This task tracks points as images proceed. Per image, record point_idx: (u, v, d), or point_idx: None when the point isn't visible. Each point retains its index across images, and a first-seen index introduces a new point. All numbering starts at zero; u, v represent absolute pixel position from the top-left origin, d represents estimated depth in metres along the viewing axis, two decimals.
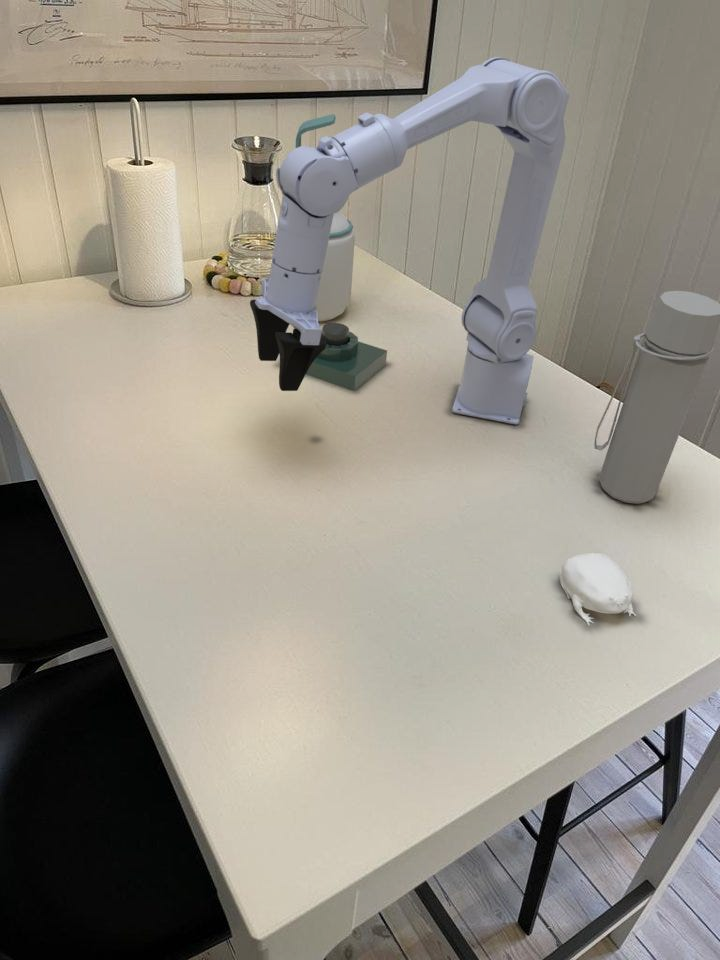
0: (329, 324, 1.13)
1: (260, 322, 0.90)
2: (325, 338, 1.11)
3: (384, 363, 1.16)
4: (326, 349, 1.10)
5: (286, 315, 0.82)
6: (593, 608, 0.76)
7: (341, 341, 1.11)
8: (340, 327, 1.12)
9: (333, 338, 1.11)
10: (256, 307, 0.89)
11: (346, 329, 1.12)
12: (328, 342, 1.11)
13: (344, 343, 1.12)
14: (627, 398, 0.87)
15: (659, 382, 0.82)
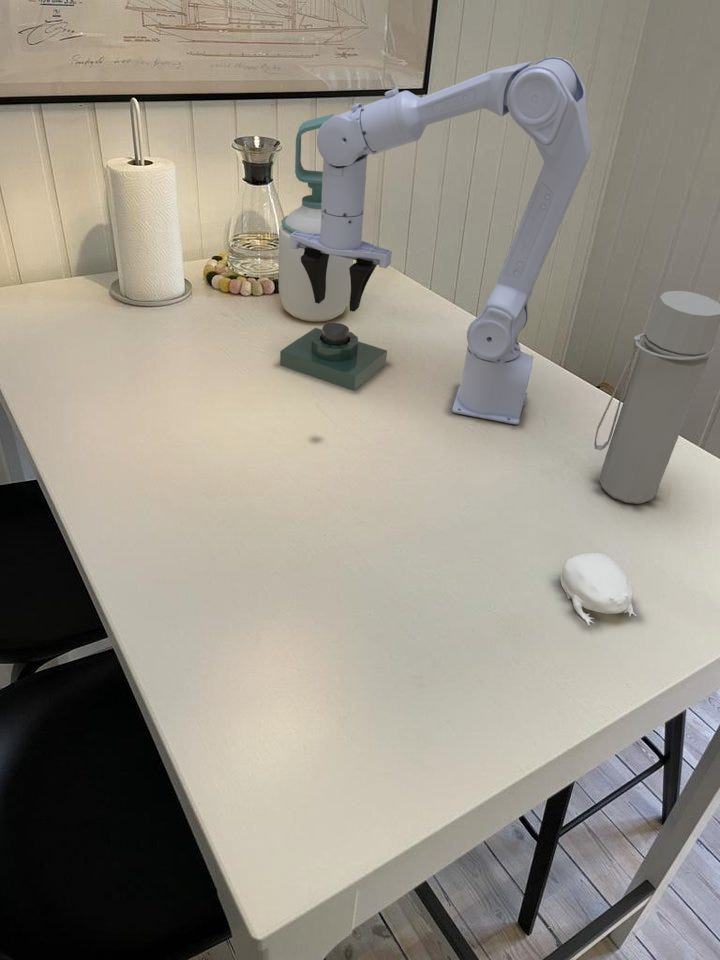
0: (329, 324, 1.13)
1: None
2: (325, 338, 1.11)
3: (384, 363, 1.16)
4: (326, 349, 1.10)
5: None
6: (593, 608, 0.76)
7: (341, 341, 1.11)
8: (340, 327, 1.12)
9: (333, 338, 1.11)
10: None
11: (346, 329, 1.12)
12: (328, 342, 1.11)
13: (344, 343, 1.12)
14: (627, 398, 0.87)
15: (659, 382, 0.82)
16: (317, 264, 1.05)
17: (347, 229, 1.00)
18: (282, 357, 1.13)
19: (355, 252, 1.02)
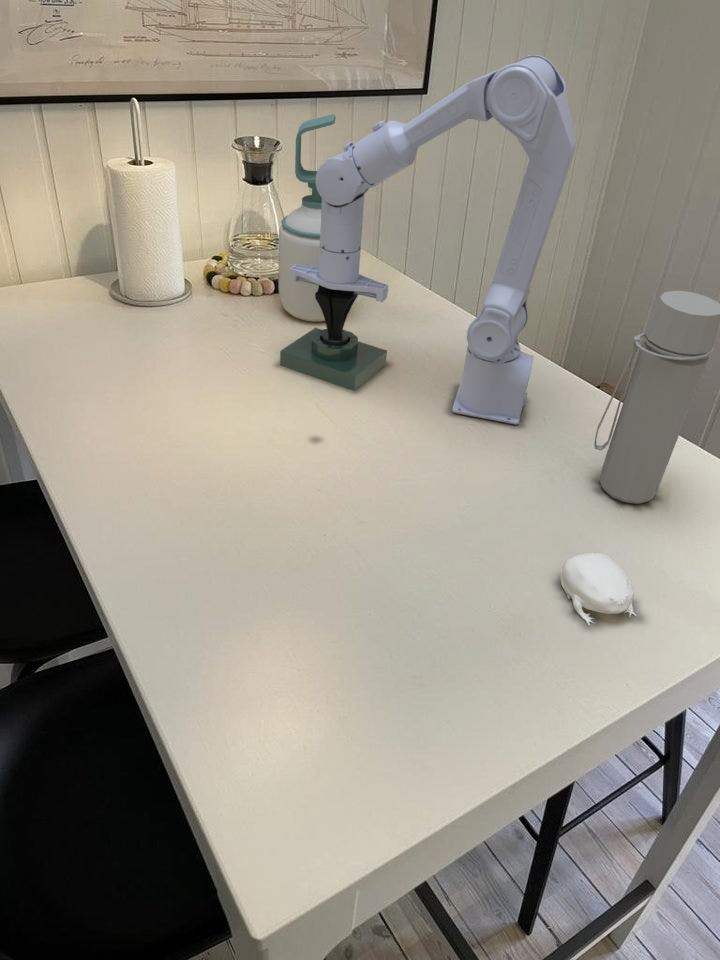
0: None
1: None
2: None
3: (384, 363, 1.16)
4: (326, 349, 1.10)
5: None
6: (593, 608, 0.76)
7: None
8: None
9: (333, 344, 1.11)
10: None
11: (346, 336, 1.12)
12: None
13: None
14: (627, 398, 0.87)
15: (659, 382, 0.82)
16: (331, 300, 1.08)
17: (344, 265, 1.03)
18: (282, 357, 1.13)
19: (353, 286, 1.05)
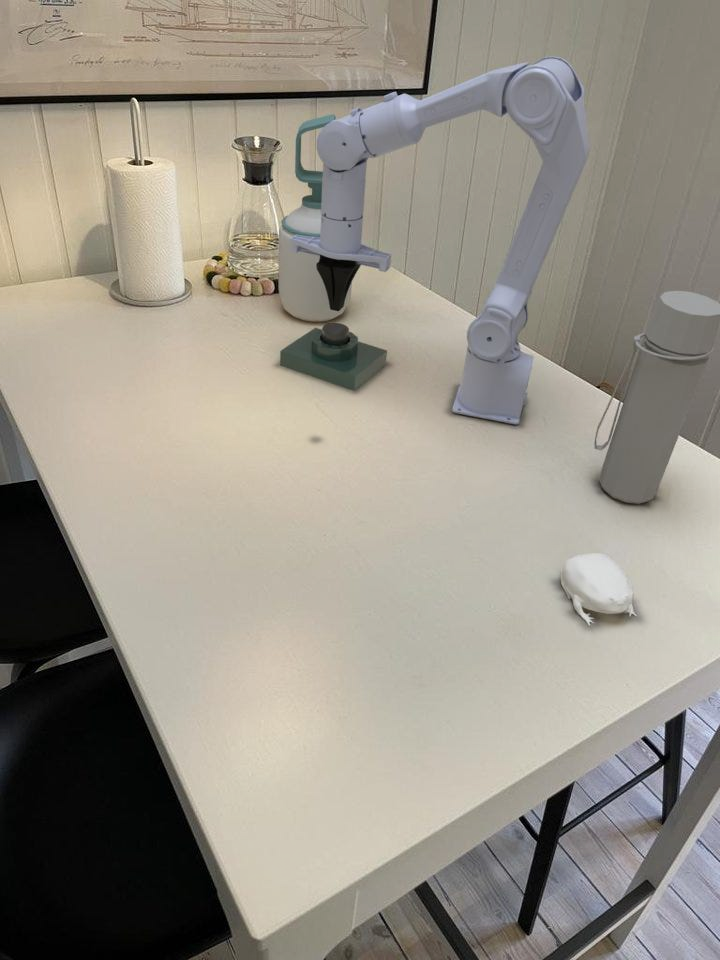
0: (329, 324, 1.13)
1: None
2: (325, 338, 1.11)
3: (384, 363, 1.16)
4: (326, 349, 1.10)
5: None
6: (593, 608, 0.76)
7: (341, 341, 1.11)
8: (340, 327, 1.12)
9: (333, 338, 1.11)
10: None
11: (346, 329, 1.12)
12: (328, 342, 1.11)
13: (344, 343, 1.12)
14: (627, 398, 0.87)
15: (659, 382, 0.82)
16: (333, 271, 1.05)
17: (346, 233, 1.01)
18: (282, 357, 1.13)
19: (355, 256, 1.02)
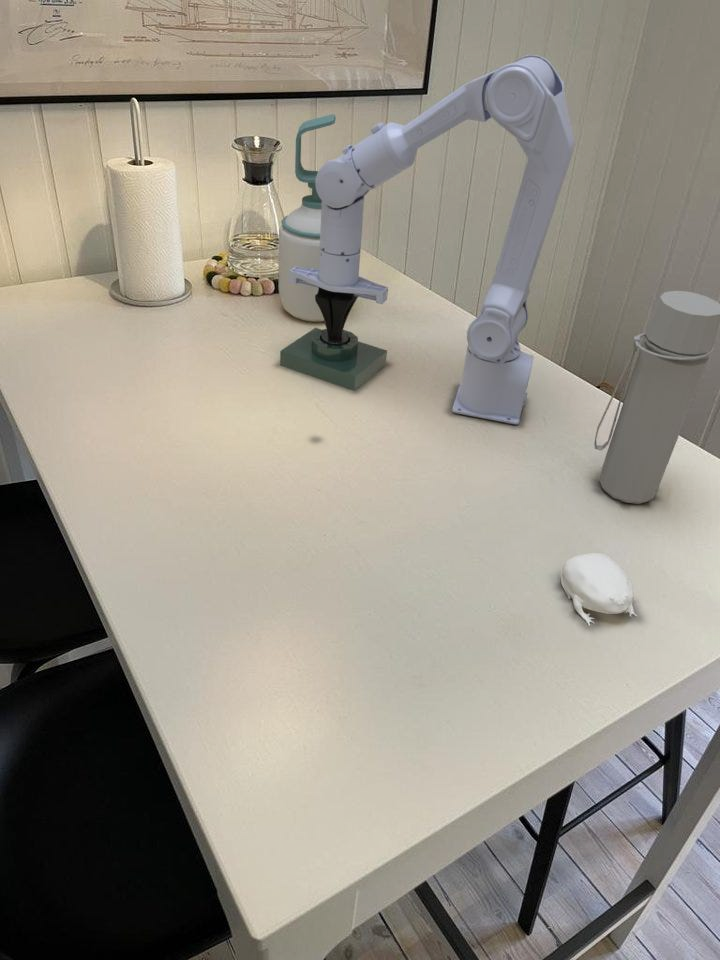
0: None
1: None
2: None
3: (384, 363, 1.16)
4: (326, 349, 1.10)
5: None
6: (593, 608, 0.76)
7: None
8: None
9: None
10: None
11: (345, 338, 1.13)
12: None
13: None
14: (627, 398, 0.87)
15: (659, 382, 0.82)
16: (331, 303, 1.08)
17: (344, 267, 1.03)
18: (282, 357, 1.13)
19: (352, 289, 1.05)
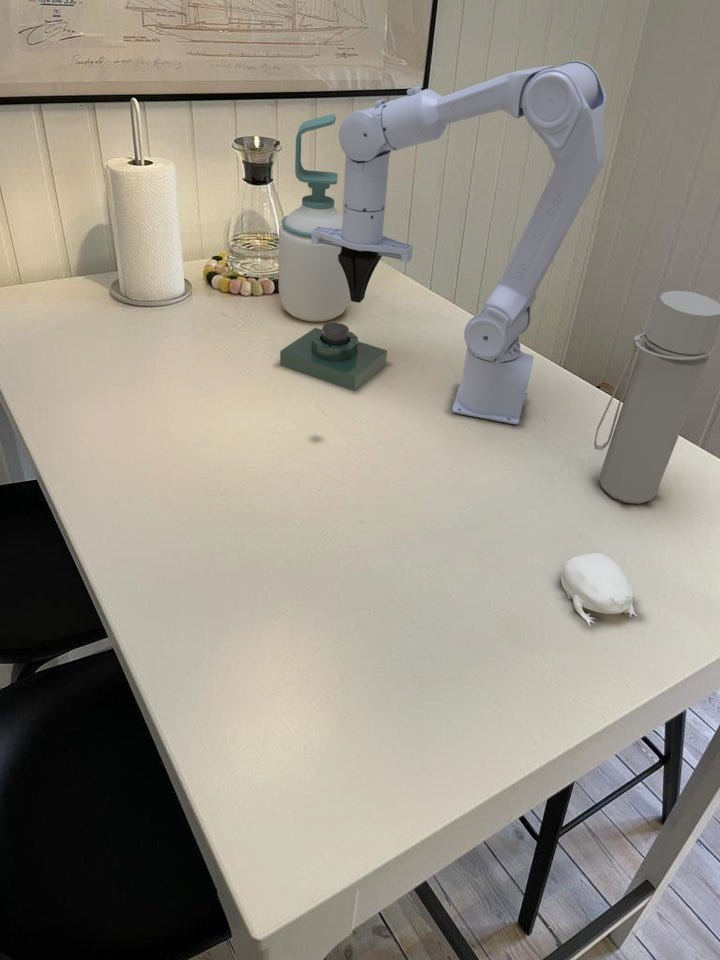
0: (329, 324, 1.13)
1: None
2: (325, 338, 1.11)
3: (384, 363, 1.16)
4: (326, 349, 1.10)
5: (342, 229, 1.07)
6: (593, 608, 0.76)
7: (341, 341, 1.11)
8: (340, 327, 1.12)
9: (333, 338, 1.11)
10: None
11: (346, 329, 1.12)
12: (328, 342, 1.11)
13: (344, 343, 1.12)
14: (627, 398, 0.87)
15: (659, 382, 0.82)
16: (354, 262, 1.06)
17: (369, 224, 1.01)
18: (282, 357, 1.13)
19: (377, 247, 1.03)
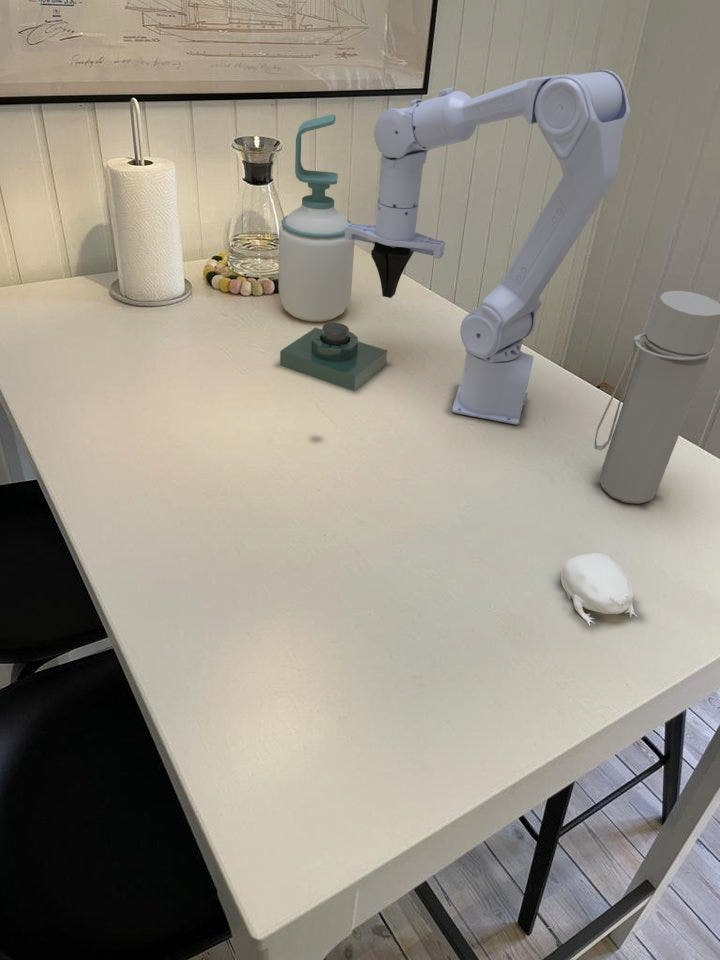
0: (329, 324, 1.13)
1: None
2: (325, 338, 1.11)
3: (384, 363, 1.16)
4: (326, 349, 1.10)
5: (375, 225, 1.09)
6: (593, 608, 0.76)
7: (341, 341, 1.11)
8: (340, 327, 1.12)
9: (333, 338, 1.11)
10: None
11: (346, 329, 1.12)
12: (328, 342, 1.11)
13: (344, 343, 1.12)
14: (627, 398, 0.87)
15: (659, 382, 0.82)
16: (387, 258, 1.08)
17: (403, 220, 1.03)
18: (282, 357, 1.13)
19: (410, 243, 1.05)
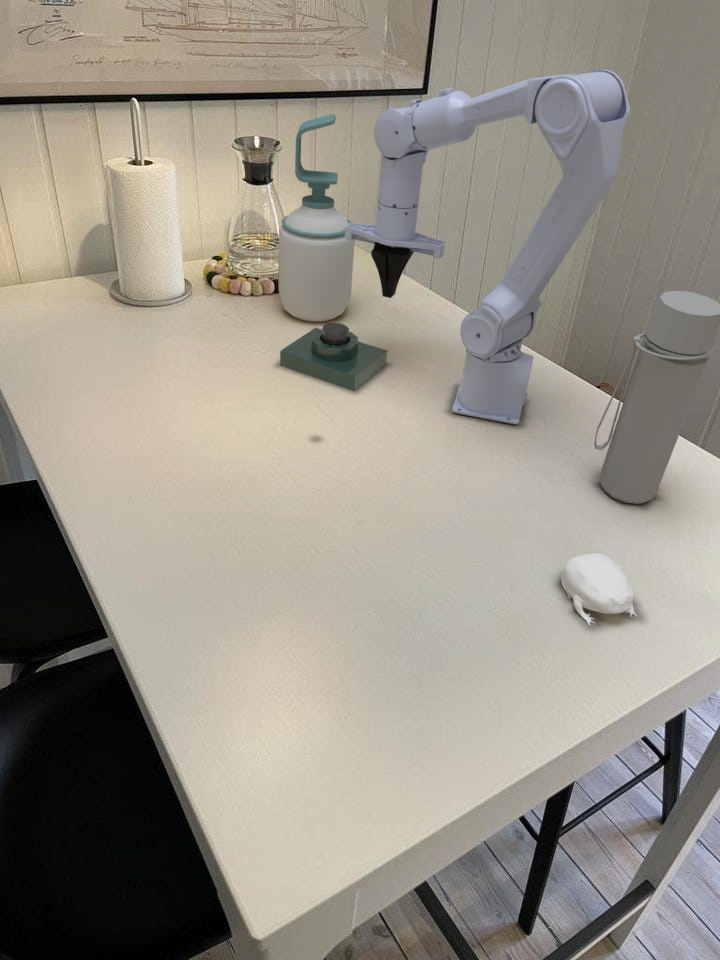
0: (329, 324, 1.13)
1: None
2: (325, 338, 1.11)
3: (384, 363, 1.16)
4: (326, 349, 1.10)
5: (375, 225, 1.09)
6: (593, 608, 0.76)
7: (341, 341, 1.11)
8: (340, 327, 1.12)
9: (333, 338, 1.11)
10: None
11: (346, 329, 1.12)
12: (328, 342, 1.11)
13: (344, 343, 1.12)
14: (627, 398, 0.87)
15: (659, 382, 0.82)
16: (387, 258, 1.08)
17: (403, 220, 1.03)
18: (282, 357, 1.13)
19: (410, 243, 1.05)
